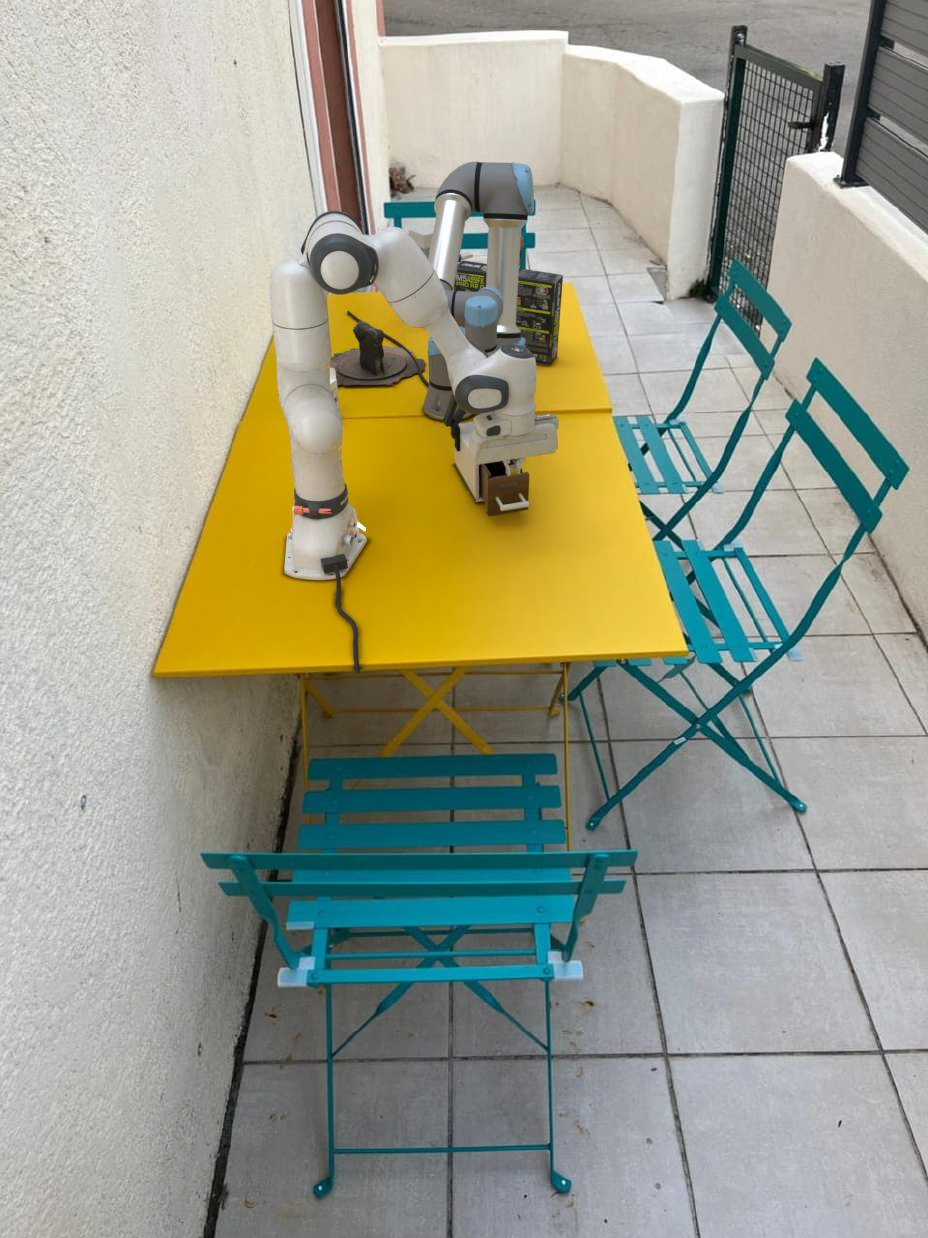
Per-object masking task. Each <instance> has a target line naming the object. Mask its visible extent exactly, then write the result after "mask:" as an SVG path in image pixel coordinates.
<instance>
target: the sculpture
mask: <svg viewBox="0 0 928 1238" xmlns="http://www.w3.org/2000/svg"><path fill="white" fill-rule="evenodd" d="M352 332H353V335H354V337H355V338H356V340H357V342H358V347H357V348H350V349H349V350H345V351H343V352H335V353H333V355H332V357H331V360H330V368H334V369H335V372H336V379H337V387H339V386H340V385H342V386H344V387H346V386H355V385H358V386H359V385H360V386H362V385H363V386H371V385H372V386H376V385H378V386H379V385H388V386H391V385H392V386H394V387H396V386H395V385H394V384H395V383H399V382H400V380H401V379H403V378H407V377H411V376H412V375H414V374H416V373H417V374H418V369H417V366H416V364H415V362H414V361H413V359H412V357H411V356H410V355H409V353H407V352H406V351H405V350H404V349H403V348H401V347H396V346H389V345H387V346H386V345H383V342H384V333H385V332H384V331H383V330H382V329H381V328H376V327H374V326H373V325H371V324H369V323H368V322H366V321H363V320H361V321H359V322H358V321H357V324H355V326H353V329H352ZM407 350H408V351H409V352H410V353H411V354H412V355H413V356H414V358H415V359H416V361H417V363H418V365H419V368H420V371H421V372H422V371H424V370H426V362H425V360H424V359H423V358H417V357H416V356H415V355H414V352H413V351H412V350H409V349H407ZM393 383H394V384H393Z"/></svg>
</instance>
